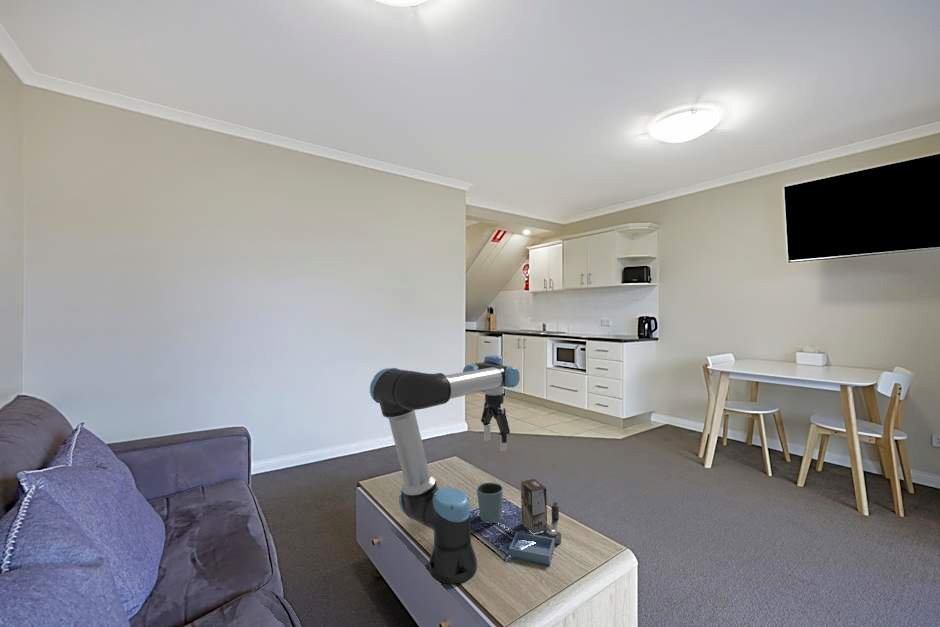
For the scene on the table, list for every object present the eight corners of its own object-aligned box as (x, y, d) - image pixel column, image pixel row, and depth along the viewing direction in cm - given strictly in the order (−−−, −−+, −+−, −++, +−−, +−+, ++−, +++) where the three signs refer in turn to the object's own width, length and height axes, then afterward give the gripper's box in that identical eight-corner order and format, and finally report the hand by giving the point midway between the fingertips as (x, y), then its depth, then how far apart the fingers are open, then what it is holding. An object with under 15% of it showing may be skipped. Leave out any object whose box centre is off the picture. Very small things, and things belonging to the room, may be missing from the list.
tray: (549, 565, 126) (549, 556, 126) (509, 557, 131) (509, 548, 131) (554, 547, 136) (554, 538, 136) (516, 540, 140) (516, 531, 140)
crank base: (559, 547, 136) (559, 541, 136) (517, 539, 141) (517, 533, 141) (562, 536, 142) (562, 531, 142) (521, 529, 147) (521, 524, 147)
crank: (556, 537, 137) (556, 519, 137) (545, 535, 139) (544, 517, 139) (561, 520, 148) (561, 503, 148) (550, 518, 150) (550, 501, 150)
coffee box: (548, 532, 145) (547, 488, 145) (532, 536, 143) (531, 491, 142) (535, 519, 154) (534, 478, 153) (520, 523, 151) (519, 481, 151)
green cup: (508, 520, 153) (507, 489, 153) (485, 528, 148) (485, 496, 148) (494, 509, 162) (493, 480, 162) (472, 516, 157) (472, 485, 157)
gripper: (518, 398, 153) (519, 453, 153) (488, 387, 176) (489, 435, 176) (501, 400, 150) (501, 456, 150) (472, 389, 173) (473, 438, 173)
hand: (494, 445), depth 163 cm, fingers open, 13 cm apart
